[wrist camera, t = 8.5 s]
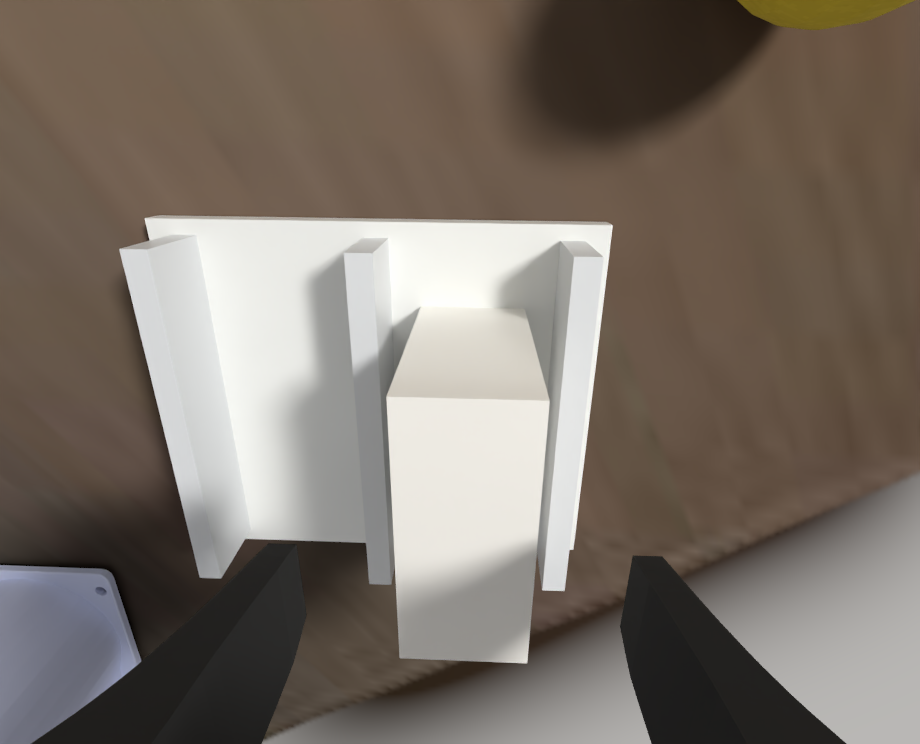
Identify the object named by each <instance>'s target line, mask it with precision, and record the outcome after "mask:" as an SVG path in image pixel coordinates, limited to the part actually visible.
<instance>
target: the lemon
mask: <svg viewBox="0 0 920 744" xmlns="http://www.w3.org/2000/svg"><path fill="white" fill-rule="evenodd" d="M737 1H738V2H739V3H740V4H741V5H742V6H744V7H745V8H746V9H747V10H748V11H749V12H750V13H751V14H752V15H754V16H757V17H759V18H761V19H763V20H765V21H768V22H770V23H772V24H774V25H777V26H781V27H789V28H798V29H806V30H820V29H826V28H832V27H838V26H844V25H850V24H856V23H861V22H864V21H868V20H871V19H874V18H876V17H878V16H881V15H883V14H885V13H888V12H890V11H892V10H894V9H897V8H899V7H901V6H903V5H906V4H908V3H910V2H912V1H915V0H737Z"/></svg>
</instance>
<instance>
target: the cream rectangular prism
mask: <svg viewBox="0 0 920 744" xmlns="http://www.w3.org/2000/svg"><path fill="white" fill-rule="evenodd" d="M386 400H387V419H388V439H389V458H390V478H391V497H392V517H393V537H394V556H395V576H396V595H397V615H398V635H399V654H400V658H410V659H434V660H459V661H483V662H509V663H527V659H528V646H529V636H530V624H531V612H532V601H533V589H534V578H535V566H536V555H537V543H538V532H539V520H540V509H541V497H542V485H543V474H544V462H545V451H546V439H547V428H548V416H549V405H550V400H549V396H548V392H547V389H546V385H545V381H544V378H543V374H542V370H541V367H540V363H539V359H538V356H537V352H536V348H535V345H534V341H533V337H532V334H531V330H530V326H529V323H528V319H527V315H526V312H525V309H523V308H472V307H422V306H421V308H420V310H419V313H418V316H417V318H416V321H415V323H414V326H413V329H412V331H411V334H410V336H409V339H408V342H407V344H406V347H405V349H404V352H403V355H402V357H401V360H400V362H399V365H398V368H397V370H396V373H395V375H394V378H393V381H392V383H391V386H390V388H389V391H388V394H387V396H386Z"/></svg>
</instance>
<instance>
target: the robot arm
mask: <svg viewBox="0 0 920 744" xmlns="http://www.w3.org/2000/svg"><path fill="white" fill-rule="evenodd" d="M305 618H306V608H305V601H304V594H303V587H302V580H301V573H300V566H299V559H298V552H297V545H296V544H268V545H266V546H265V547H264V548H263V549H262V550H261V551H260V552H259V553H258V554H257V555H256V556H255V557H254V558H253V559H252V560H251V561H250V562H249V563H248V564H247V565H246V566H245V567H244V568H243V569H242V570H241V571H240V572H239V573H238V574H237V575H235V576H234V577H233V578H232V579H231V580H230V581H229V582H228V583H227V584H226V585H225V586H224V587H223V588H222V589H221V590H220V591H219V592H218V593H217V594H216V595H215V596H214V597H213V598H212V599H211V600H210V601H209V602H207V603H206V604H205V605H204V606H203V607H202V608H201V609H200V610H199V611H198V612H197V613H196V614H195V615H194V616H193V617H192V618H190V619H189V620H188V621H187V622H186V623H185V624H184V625H183V626H182V627H181V628H180V629H178V630H177V631H176V632H175V633H174V634H173V635H172V636H170V637H169V638H168V639H167V640H166V641H165V642H163V643H162V644H161V645H160V646H159V647H158V648H157V649H155V650H154V651H153V652H152V653H151V654H150V655H149V656H147V657H146V658H145V659H144V660H143V661H141V658H140V655H139V652H138V649H137V646H136V643H135V640H134V637H133V634H132V631H131V628H130V625H129V622H128V619H127V616H126V613H125V610H124V607H123V604H122V601H121V597H120V594H119V591H118V588H117V585H116V582H115V579H114V577H113V575H112V573H110V572H109V571H107V570H105V569H95V568H67V567H40V566H12V565H0V744H261V743H262V741H263V738H264V736H265V733H266V731H267V728H268V726H269V723H270V721H271V719H272V716H273V714H274V711H275V709H276V706H277V704H278V701H279V698H280V696H281V693H282V691H283V688H284V686H285V683H286V681H287V678H288V676H289V673H290V670H291V668H292V665H293V662H294V659H295V655H296V652H297V648H298V645H299V641H300V637H301V634H302V630H303V626H304V622H305ZM620 628H621V633H622V638H623V643H624V648H625V653H626V658H627V663H628V668H629V672H630V676H631V680H632V683H633V687H634V690H635V693H636V696H637V699H638V702H639V706H640V709H641V712H642V715H643V718H644V721H645V724H646V728H647V730H648V734H649V737H650V740H651V743H652V744H846V743H845V742H844V741H842V740H841V739H840V738H839V737H838V736H837V735H836V734H835V733H833V732H832V731H831V730H830V729H829V728H828V727H827V726H826V725H824V724H823V723H822V722H821V721H820V720H819V719H817V718H816V717H815V716H814V715H813V714H812V713H811V712H810V711H808V710H807V709H806V708H805V707H804V706H803V705H802V704H801V703H799V701H797V700H796V699H795V698H794V697H793V696H792V695H791V694H790V693H789V692H788V691H787V690H786V689H785V688H784V687H783V686H782V685H781V684H780V683H779V682H778V681H777V680H775V679H774V678H773V677H772V676H771V675H770V674H769V673H768V672H767V671H766V670H765V669H764V668H763V667H762V666H761V665H760V664H759V663H758V662H757V661H756V660H755V659H754V658H753V657H752V655H751V654H749V653H748V651H747V650H746V649H745V648H744V647H743V646H742V645H741V644H740V643H739V642H738V641H737V640H736V639H735V638H734V637H733V635H732V634H731V633H729V631H728V630H727V629H726V628H725V627H724V626H723V625H722V624H721V623H720V622H719V620H718V619H717V618H716V617H715V616H714V615H713V614H712V613H711V612H710V611H709V609H708V608H707V607H706V606H705V605H704V604H703V603H702V601H701V600H700V599H699V598H698V597H697V596H696V595H695V594H694V592H693V591H692V590H691V589H690V588H689V587H688V585H687V584H686V583H685V582H684V581H683V580H682V579H681V577H680V576H679V575H678V574H677V573H676V572H675V571H674V569H673V568H672V567H671V566H670V565H669V564H668V563H667V561H666V560H665V559H664V558H663V557H658V556H633V558H632V564H631V569H630V575H629V580H628V586H627V591H626V597H625V602H624V608H623V614H622V619H621V625H620Z"/></svg>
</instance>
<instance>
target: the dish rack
mask: <svg viewBox="0 0 920 744" xmlns="http://www.w3.org/2000/svg"><path fill="white" fill-rule="evenodd" d="M145 222H146V227H147V231H148V236H149V240H150V241H147V242H143V243H139V244H136V245H132V246H128V247H125V248H121V249H119V250H120V254H121V258H122V262H123V266H124V270H125V274H126V278H127V282H128V287H129V291H130V295H131V299H132V303H133V307H134V311H135V315H136V319H137V323H138V327H139V331H140V336H141V340H142V344H143V348H144V352H145V356H146V360H147V364H148V368H149V372H150V376H151V380H152V385H153V389H154V393H155V397H156V401H157V405H158V409H159V413H160V417H161V421H162V425H163V429H164V433H165V438H166V442H167V446H168V450H169V454H170V458H171V462H172V466H173V470H174V474H175V478H176V482H177V487H178V491H179V495H180V499H181V503H182V507H183V511H184V515H185V519H186V523H187V527H188V531H189V536H190V540H191V544H192V548H193V552H194V556H195V560H196V564H197V568H198V572H199V576H200V578H220V579H221V578H222V576H223V575H224V573H225V571H226V570H227V568H228V566H229V565H230V563H231V562H232V560H233V558H234V557H235V555H236V553H237V552H238V550H239V548H240V547H241V545H242V543H243V542H244V540H245V539H269V540H298V541H328V542H357V543H366V548H367V561H368V574H369V584H385V585H391V583H392V578H393V573H394V568H395V556H394V537H393V517H392V497H391V478H390V458H389V439H388V419H387V400H386V396H387V394H388V391H389V388H390V386H391V383H392V381H393V378H394V375H395V373H396V370H397V368H398V365H399V362H400V360H401V357H402V355H403V352H404V349H405V347H406V344H407V342H408V339H409V336H410V334H411V331H412V329H413V326H414V323H415V321H416V318H417V316H418V313H419V310H420V308H421V306H422V307H472V308H523V309H525V312H526V315H527V319H528V323H529V326H530V330H531V334H532V337H533V341H534V345H535V348H536V352H537V356H538V359H539V363H540V367H541V370H542V374H543V378H544V381H545V385H546V389H547V392H548V396H549V400H550V405H549V416H548V428H547V439H546V451H545V462H544V474H543V485H542V497H541V509H540V520H539V532H538V543H537V556H538V563H539V570H540V578H541V585H542V590H550V591H565V582H566V574H567V565H568V557H569V550H573V548H574V540H575V531H576V523H577V515H578V507H579V498H580V490H581V482H582V474H583V466H584V457H585V449H586V441H587V433H588V425H589V416H590V408H591V400H592V392H593V383H594V375H595V367H596V359H597V351H598V342H599V334H600V326H601V318H602V309H603V301H604V293H605V285H606V277H607V268H608V260H609V252H610V244H611V235H612V227H613V225H611V224H610V223H608V222H574V221H507V220H439V219H371V218H303V217H236V216H168V215H158V216H153V217H148V218H145Z"/></svg>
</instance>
